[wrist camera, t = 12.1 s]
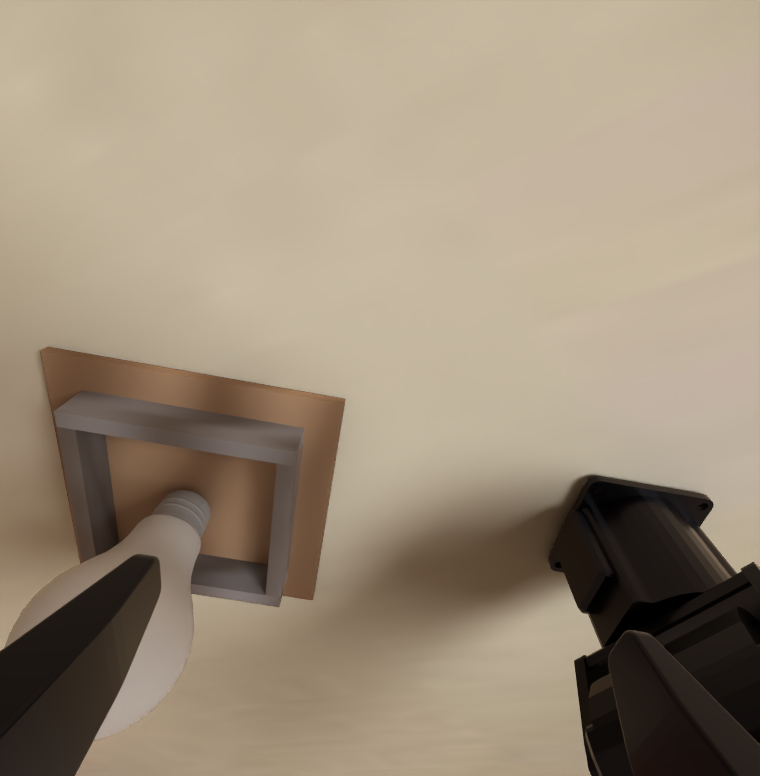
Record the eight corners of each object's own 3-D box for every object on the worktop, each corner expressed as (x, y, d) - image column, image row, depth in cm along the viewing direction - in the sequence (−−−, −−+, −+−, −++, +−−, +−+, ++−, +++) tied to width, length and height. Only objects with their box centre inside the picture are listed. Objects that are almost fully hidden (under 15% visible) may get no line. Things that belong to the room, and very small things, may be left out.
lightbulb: (142, 532, 25) (-21, 768, 16) (128, 444, 22) (-81, 663, 13) (250, 546, 25) (155, 789, 16) (250, 460, 23) (135, 690, 13)
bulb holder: (345, 399, 21) (338, 426, 19) (314, 593, 28) (306, 631, 26) (47, 346, 21) (5, 369, 19) (85, 557, 27) (58, 593, 25)
